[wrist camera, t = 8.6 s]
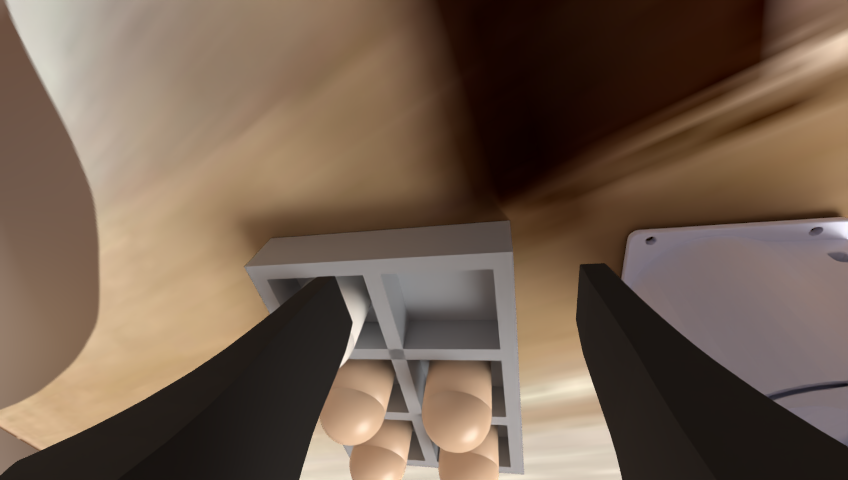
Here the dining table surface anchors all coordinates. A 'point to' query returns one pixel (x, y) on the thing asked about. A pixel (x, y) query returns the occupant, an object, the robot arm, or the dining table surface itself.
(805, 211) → the dining table surface
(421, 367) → the egg carton
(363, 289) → the white egg
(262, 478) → the robot arm
